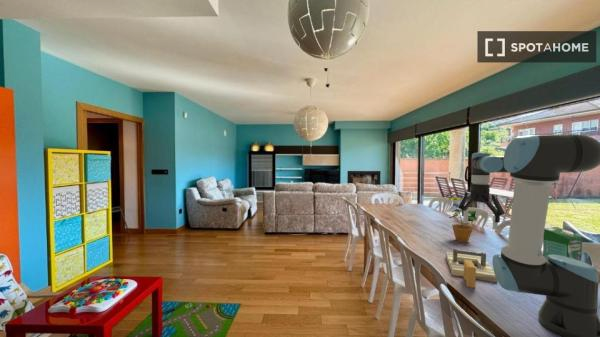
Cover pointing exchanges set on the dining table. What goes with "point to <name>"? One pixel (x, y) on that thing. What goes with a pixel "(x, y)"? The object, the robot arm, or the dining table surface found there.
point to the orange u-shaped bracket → (469, 273)
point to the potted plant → (462, 231)
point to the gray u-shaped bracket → (483, 255)
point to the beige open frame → (482, 272)
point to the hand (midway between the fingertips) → (479, 225)
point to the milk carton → (562, 243)
